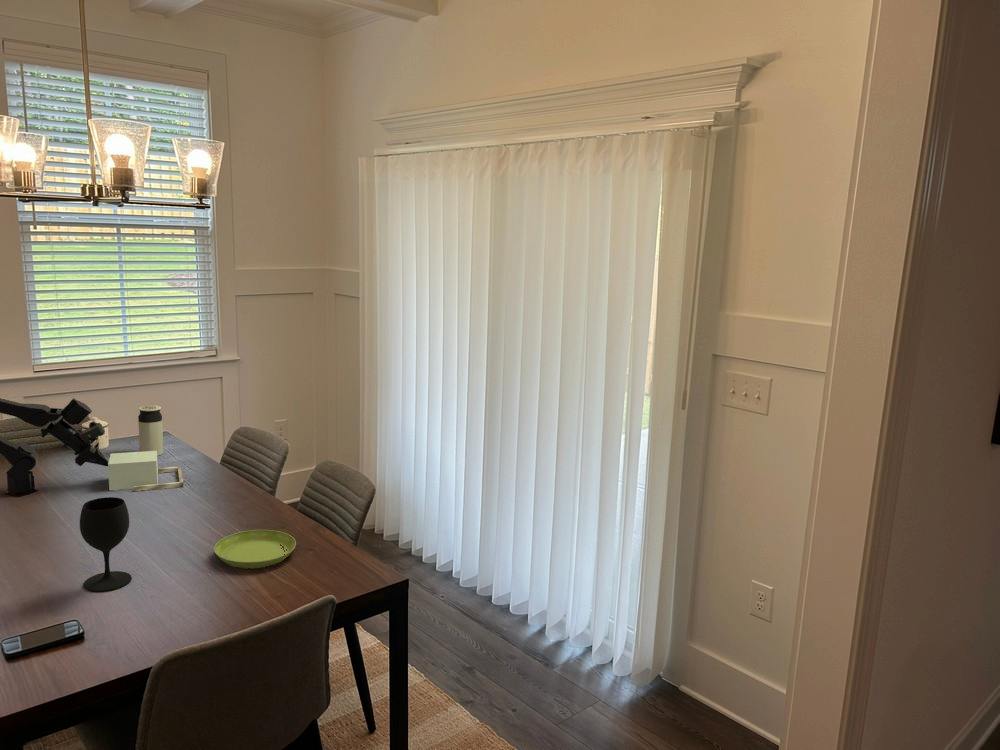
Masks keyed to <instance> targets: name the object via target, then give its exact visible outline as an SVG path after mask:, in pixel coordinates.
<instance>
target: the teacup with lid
mask: <svg viewBox="0 0 1000 750" xmlns="http://www.w3.org/2000/svg"><path fill="white" fill-rule="evenodd" d="M93 421H94V422H96V423H100V424H102V427H103V428H104V430H105V434H104V435H102V436H98V440H95V441H94V442H93V443H92V445H96V444H97V443H99V450H103V449H106V448H108V447H109V444H110V443H109V441H110V440H109V422H107V421H105V420H101V419H99V418H98V417H97V416H93V417H91V419H89V420H88V421H86V422H83V423H82V424H81V426H80V428H81V430H82V431H84V430H86V429H87V428H89V423H91V422H93Z"/></svg>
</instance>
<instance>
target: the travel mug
mask: <svg viewBox="0 0 1000 750" xmlns="http://www.w3.org/2000/svg"><path fill="white" fill-rule="evenodd" d="M161 409H162V407H161V406H160V405H154V404H153V405H151V404H150V405H149V404H148V405H142V406H140V407H138V410H139V414H138V416H137V419H138V421H137V422H138V423H137V424H138V441H139V442H138V443H139V452H145V451H157V457H159V456H161V455H163V454H164V438H163V437H164V435H163V434H164V432H163V415H162V413H161Z"/></svg>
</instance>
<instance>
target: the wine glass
mask: <svg viewBox="0 0 1000 750" xmlns="http://www.w3.org/2000/svg"><path fill="white" fill-rule="evenodd" d="M129 528H130V515H129V510H128V507H127V504H126V502H125V500H124V499H123V498H120V497H116V496H115V497H114V496H113V497H112V496H109V497H105V496H104V497H99V498H94V499H91V500H88V501H86V502H84V503H83V505H82V508H81V510H80V516H79V531H80V534H81V537H82V539H83V540H84V541H85V542H86V544H87V545H89V546H90V547H91V548H94V549H95V550H97V551H100V552H102V554H103V560H104V561H103V562H104V572H100V573H97V574H94V575H92V576H90V577H87V579H85V581H84V583H82V584H83V588H84V589H85V590H86V591H88V592H91V593H107V592H112V591H115V590H119V589H122V588H124V587H126V586H128V585H129V584H131V582H132V578H133V577H132V575H131V574H130V573H128V572H125V571H121V570H120V571H119V570H112V571H111V570H110V553H111V551H112V550H113V549H115V548H116V546H117V547H118V545H119V544H120V543H121V542H122V541H123V540H124V539H125V537H126V536H127V533H128V532H129Z"/></svg>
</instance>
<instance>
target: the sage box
mask: <svg viewBox="0 0 1000 750" xmlns="http://www.w3.org/2000/svg"><path fill="white" fill-rule="evenodd" d="M108 462H109V463H108V466H107V468H108V469H107V471H108V487H109V489H108V490H115V491H120V490H119V489H127V490H134V489H133V488H134V486H141V485H152V484H157V483H158V484H159V480H158V479H159V473H158V468H159V467H158V466H159V465H158V456H157V451H145V452H140V451H132V452H129V451H128V452H116V453H115V452H114V453H110V457H109V459H108ZM131 488H132V489H131Z"/></svg>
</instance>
